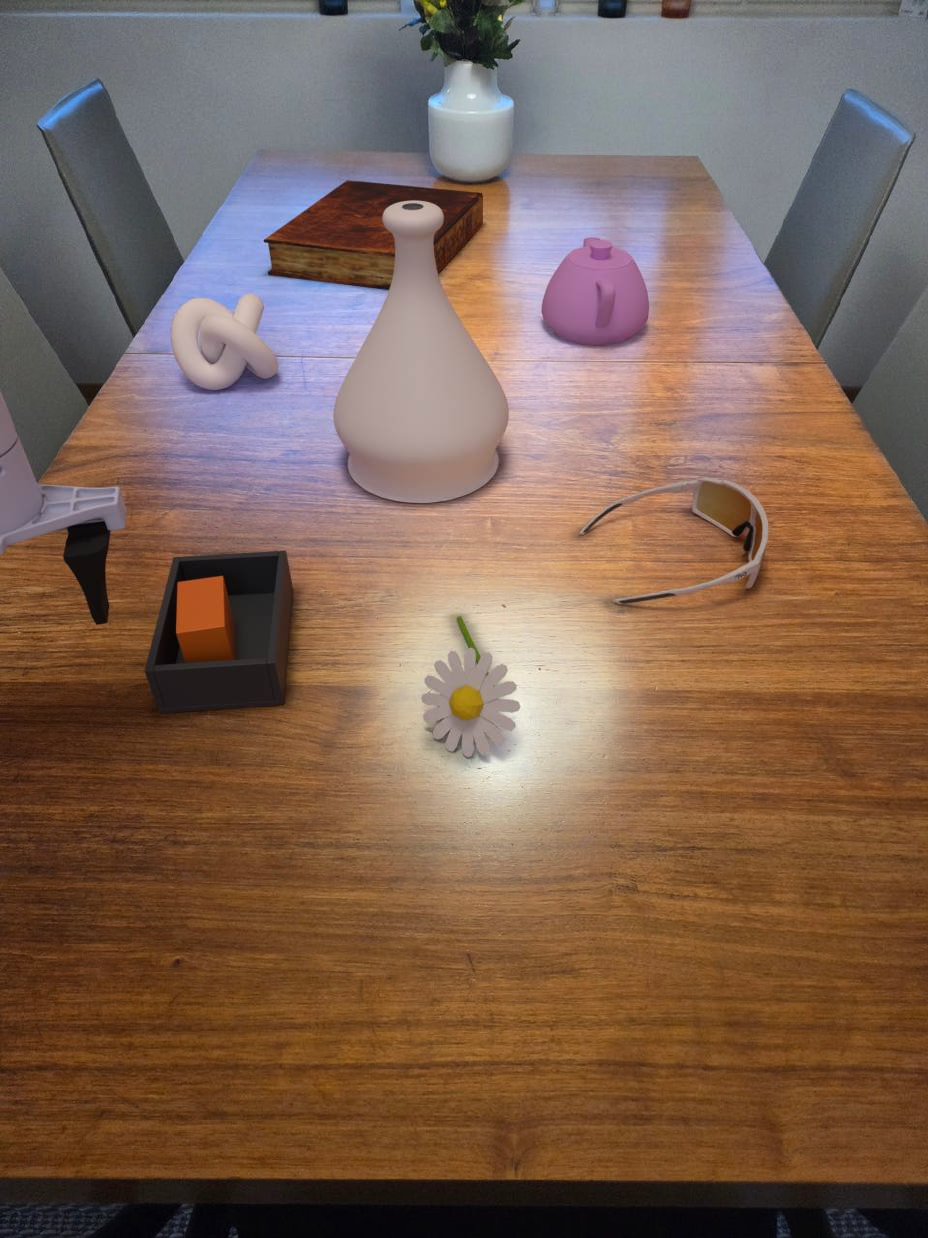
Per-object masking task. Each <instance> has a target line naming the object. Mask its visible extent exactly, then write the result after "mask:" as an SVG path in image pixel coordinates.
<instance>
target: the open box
mask: <svg viewBox="0 0 928 1238" xmlns="http://www.w3.org/2000/svg"><path fill="white" fill-rule="evenodd" d="M287 553H288V552H287V550H272V551H255V552H236V553H220V554H203V555H189V556H188V555H187V556H184V555H183V556H173V557H172V561H171V565H170V569H169V573H168V577H167V580H166V585H165V589H164V592H163V596H162V601H161V605H160V608H159V612H158V615H157V616H158V617H157V620H156V624H155V628H154V632H153V636H152V640H151V644H150V649H149V652H148V655H147V660H146V664H145V668H144V675H145V677H146V680H147V682H148V686H149V688H150V690H151V693H152V696H153V699H154V702H155V705H156V708H157V710H158V713H159V714H169V713H184V712H199V711H212V710H225V709H226V710H228V709H240V708H241V709H243V708H255V707H269V706H284V704H285V695H286V685H287V674H288V671H287V670H288V659H289V650H290V638H291V624H292V614H293V603H294V602H293V601H294V587H293V580H292V576H291V575H292V574H291V570H290V563H289V560H288V559H289V558H288V554H287ZM218 576H223V577H224V581H225V585H226V589H227V593H228V597H229V601H230V605H231V609H232V613H233V617H234V621H235V640H236V660H226V661H211V662H196V663H185V660H184V657H183V654H182V651H181V648H180V644H179V641H178V638H177V635H176V617H177V584H178V582H182V581H189V580H196V579H203V578H211V577H218Z"/></svg>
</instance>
